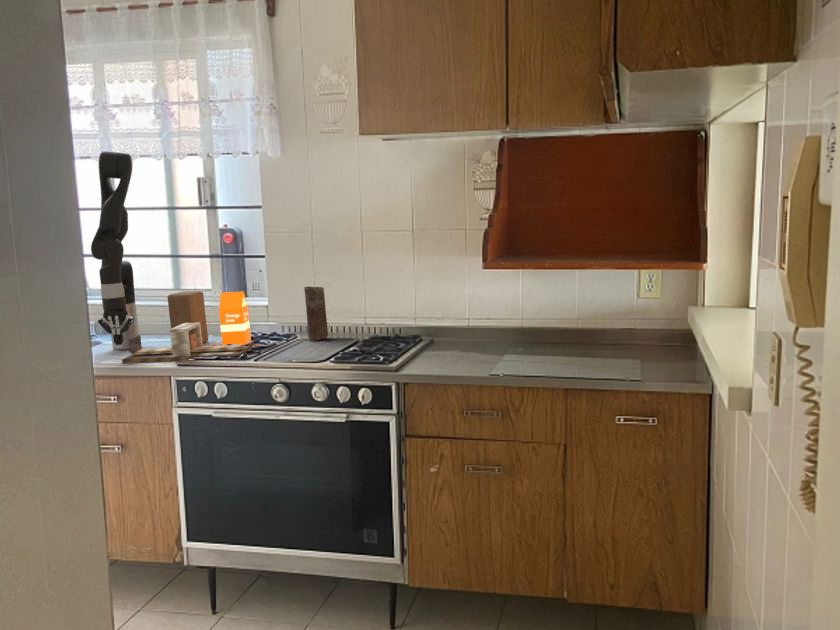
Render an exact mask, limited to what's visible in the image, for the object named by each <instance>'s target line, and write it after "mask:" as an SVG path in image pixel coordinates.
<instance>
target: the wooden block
mask: <svg viewBox="0 0 840 630" xmlns="http://www.w3.org/2000/svg"><path fill="white" fill-rule="evenodd" d="M167 304H168V313H169V322H170V323H169V324H170V329H172V328H174V327H177V326H179V325H181V324H183V323H196V322H200V325H201V335H202V344H203V345H204V344H205V343H208V342H209V335H208V334H209V333H208V327H207V318H206V308H205V297H204V293H203V291H201V290H198V291H197V290H194V291H193V290H192V291H187V290H186V291H180V292H175V293H172V294H169V295H167Z"/></svg>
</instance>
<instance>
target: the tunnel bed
mask: <svg viewBox="0 0 840 630" xmlns="http://www.w3.org/2000/svg"><path fill="white" fill-rule="evenodd" d="M188 333H196V340H197V346H204V343H203V344H202V335H201V325H200V322H196V323H183V324H181V325H179V326H177V327H174V328H172V329H171V328H169V335H170V342H171V343H170V344H171V348H172V353H164V354H143V355H132V354H130V355H128V356H126V357H124V358H122V359H121V362H122V365H123V364H139V363H140V364H141V363H143V364H144V363H163V362H164V363H166V362H167V363H169V362H182V361H181V360H189V359H193V358H195V357H212V356H241V355H242V354H243V353H245V352H246V351H248V350H249V349H251V348H253V345H248V346H244V348H242V349H241V350H228V351H206V352H190V343H189V334H188ZM189 361H190V360H189Z"/></svg>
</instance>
